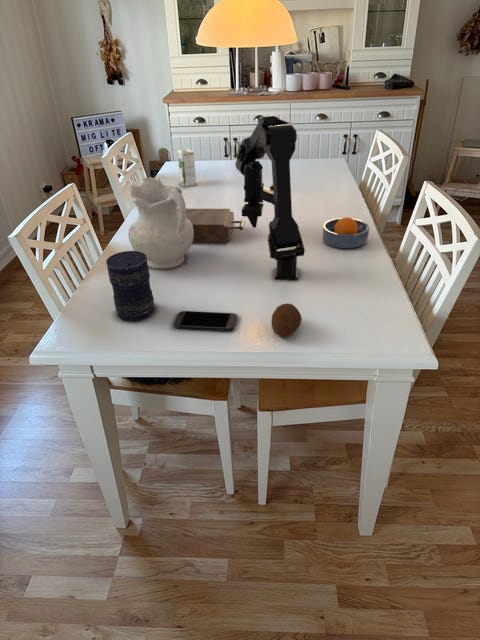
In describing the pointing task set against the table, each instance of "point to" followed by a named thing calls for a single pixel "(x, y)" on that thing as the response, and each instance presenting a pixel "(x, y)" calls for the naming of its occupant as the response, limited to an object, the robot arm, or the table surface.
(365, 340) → the table surface
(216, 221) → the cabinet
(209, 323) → the smartphone
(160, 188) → the ceramic pitcher
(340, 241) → the bowl
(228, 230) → the drawer
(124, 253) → the storage jar
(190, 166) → the syrup box
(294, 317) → the potato
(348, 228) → the orange
